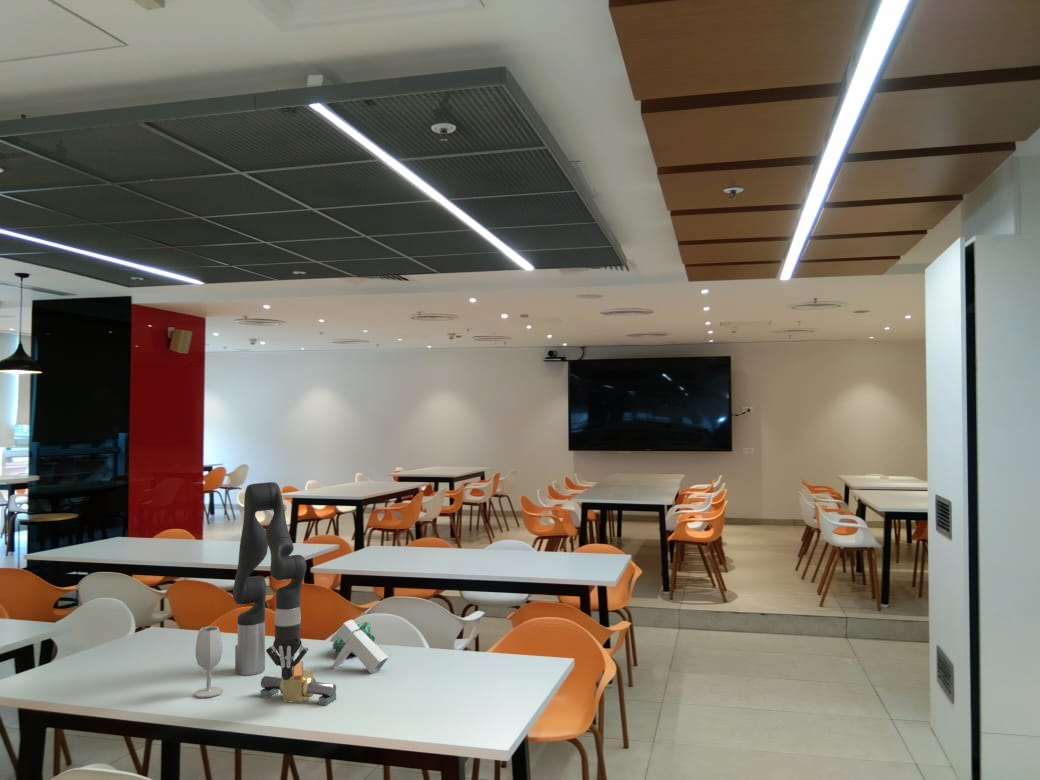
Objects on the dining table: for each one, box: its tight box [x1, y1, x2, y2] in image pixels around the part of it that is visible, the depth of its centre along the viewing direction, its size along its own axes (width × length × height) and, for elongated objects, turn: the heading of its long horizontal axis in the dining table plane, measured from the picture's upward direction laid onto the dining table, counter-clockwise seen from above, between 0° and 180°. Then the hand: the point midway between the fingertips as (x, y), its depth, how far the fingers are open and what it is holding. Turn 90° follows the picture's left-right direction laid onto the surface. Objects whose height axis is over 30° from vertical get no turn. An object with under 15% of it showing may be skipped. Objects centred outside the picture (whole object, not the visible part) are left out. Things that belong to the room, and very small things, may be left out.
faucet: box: [329, 619, 390, 674], centre depth 268 cm, size 6×16×20 cm
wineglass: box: [194, 625, 224, 699], centre depth 245 cm, size 9×9×21 cm
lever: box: [292, 660, 304, 681], centre depth 232 cm, size 17×3×4 cm, turn 16°
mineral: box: [332, 621, 376, 655], centre depth 288 cm, size 18×16×10 cm
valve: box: [260, 669, 337, 706], centre depth 239 cm, size 26×6×8 cm, turn 70°
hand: (287, 679), depth 227 cm, fingers closed
